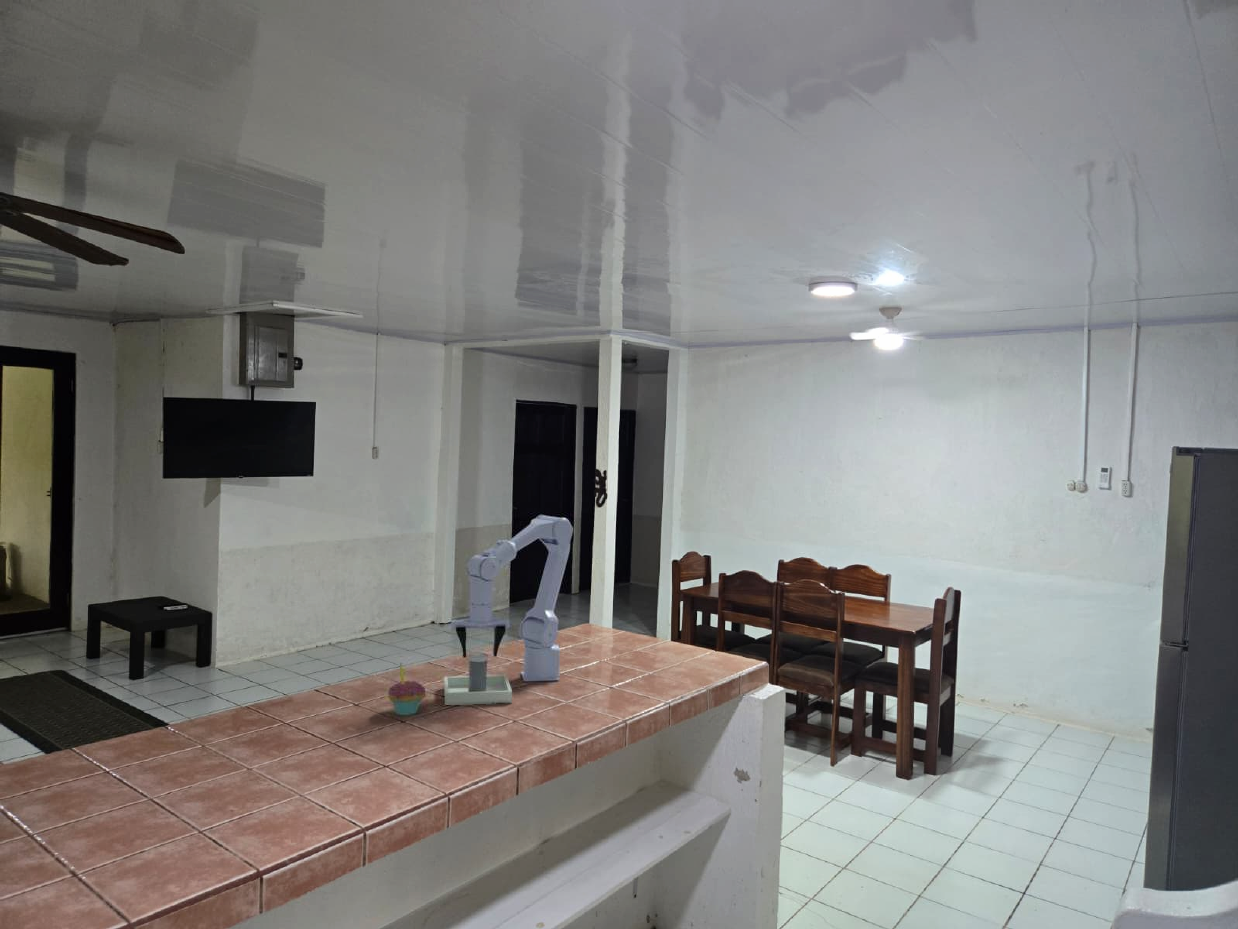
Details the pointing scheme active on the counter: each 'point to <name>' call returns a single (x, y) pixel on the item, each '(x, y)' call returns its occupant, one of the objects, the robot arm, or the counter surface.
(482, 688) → the cylinder
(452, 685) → the tray
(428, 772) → the counter surface
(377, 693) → the counter surface
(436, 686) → the counter surface
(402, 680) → the cupcake
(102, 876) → the counter surface
